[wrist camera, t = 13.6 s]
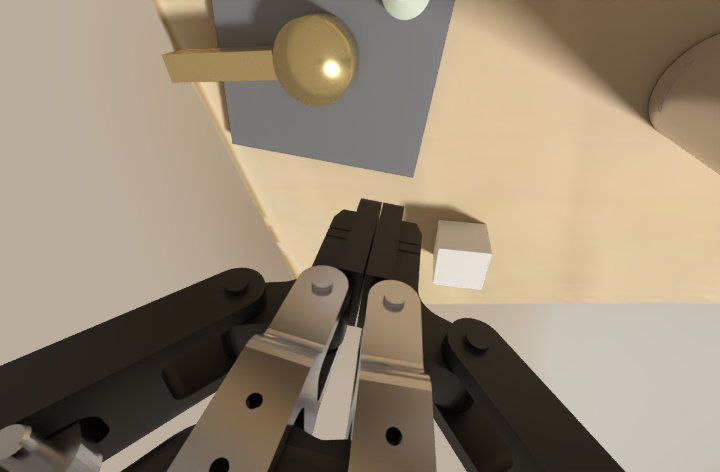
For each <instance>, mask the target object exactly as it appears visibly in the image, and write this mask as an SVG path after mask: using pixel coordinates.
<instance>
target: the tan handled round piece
mask: <svg viewBox="0 0 720 472" xmlns="http://www.w3.org/2000/svg"><path fill="white" fill-rule="evenodd" d="M162 57H163V59H164V62H165V65H166V67H167V70H168V72H169V75H170V78H171V81H172V82H173V83H174V82H220V81H265V80H279V82H280V84H281V85H282V87H283V88H284V90H285V91H286V92H287V93H288V94H289V95H290V96H291V97H292V98H294V99H295V100H297V101H298V102H300V103H302V104H305V105H308V106H315V107H318V106H325V105H328V104H330V103H332V102H334V101H335V100H337V99H338V98H339V97H340V96H341V95H342V93H343V92H344V91H345V90H346V89H347V88H348V86H349V85H350V84H351V83H352V81H353V80H354V78H355V76H356V74H357V71H358V67H359V49H358V44H357V42H356V39H355V37H354V35H353V33H352V31H351V30H350V28H349V27H348V26H347V25H346V24H345V23H344V22H343V21H342V20H340V19H339V18H337V17H335V16H334V15H331V14H327V13H314V14H310V15H306V16H303V17H299V18H296V19H293V20H291V21H290V22H288V23H287V24H286V25H285V26H284V27H283V28H282V29H281V30H280V32H279V33H278V35H277V37H276V40H275V42H274V46H252V47H229V48H206V49H183V50H178V51H174V52H171V53H167V54H163V55H162Z"/></svg>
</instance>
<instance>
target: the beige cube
mask: <svg viewBox="0 0 720 472" xmlns="http://www.w3.org/2000/svg"><path fill="white" fill-rule="evenodd" d="M491 256H492V251H491V246H490V241H489V236H488V230H487V225H486V224H479V223H468V222H457V221H446V220H439V222H438V228H437V235H436V241H435V247H434V253H433V284H437V285H445V286H453V287H462V288H470V289H478V290H481V289H482V285H483V282H484V279H485V276H486V272H487V269H488V266H489V262H490V259H491Z"/></svg>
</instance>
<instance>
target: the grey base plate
mask: <svg viewBox="0 0 720 472" xmlns="http://www.w3.org/2000/svg"><path fill="white" fill-rule="evenodd" d="M454 2H455V0H212V6H213V13H214V20H215V27H216V34H217V41H218V47H219V48H229V47H252V46H274V42H275V40H276V37H277V35H278V33H279V32H280V30H281V29H282V28H283V27H284V26H285V25H286V24H287V23H288V22H290V21H291V20H293V19H296V18H299V17H303V16H306V15H310V14H314V13H327V14H331V15H334V16H335V17H337V18H339V19H340V20H342V21H343V22H344V23H345V24H346V25H347V26H348V27H349V28H350V30H351V31H352V33H353V35H354V37H355V39H356V42H357V44H358V49H359V67H358V71H357V74H356V76H355V78H354V80H353V81H352V83H351V84H350V85H349V86H348V88H347V89H346V90H345V91H344V92H343V93H342V95H341V96H340V97H339V98H338V99H337V100H335V101H334V102H332V103H330V104H328V105H325V106H318V107H315V106H308V105H305V104H302V103H300V102H298V101H297V100H295V99H294V98H292V97H291V96H290V95H289V94H288V93H287V92H286V91H285V90H284V88H283V87H282V85H281V84H280V82H279V80H265V81H223V82H224V89H225V95H226V102H227V109H228V116H229V123H230V130H231V136H232V143H233V144H237V145H242V146H247V147H253V148H258V149H263V150H269V151H274V152H279V153H285V154H290V155H295V156H300V157H306V158H311V159H316V160H322V161H327V162H332V163H338V164H343V165H348V166H354V167H359V168H364V169H370V170H375V171H380V172H385V173H391V174H396V175H401V176H407V177H412V178H413V176H414V171H415V167H416V163H417V159H418V154H419V150H420V146H421V142H422V138H423V133H424V129H425V125H426V121H427V116H428V112H429V108H430V104H431V99H432V95H433V91H434V87H435V83H436V78H437V74H438V70H439V66H440V61H441V57H442V53H443V49H444V45H445V40H446V36H447V32H448V28H449V23H450V19H451V15H452V11H453V7H454Z"/></svg>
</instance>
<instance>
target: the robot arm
mask: <svg viewBox="0 0 720 472" xmlns="http://www.w3.org/2000/svg"><path fill="white" fill-rule="evenodd" d="M649 117H650V121H651V123H652V125H653V126H654V128H655V129H656V130H657V131H659V132H660V133H661V134H662V135H664V136H665V137H667V138H668V139H670V140H671V141H673V142H674V143H675V144H677V145H678V146H680V147H681V148H682V149H684V150H685V151H687V152H688V153H689V154H691V155H692V156H694V157H695V158H697V159H698V160H700V161H701V162H702V163H704V164H705V165H707V166H708V167H710V168H711V169H712V170H714V171H715V172H717V173H718V174H720V34H718V35H716V36H713V37H711V38H708V39H706V40H704V41H703V42H701V43H699V44H697V45H696V46H694V47H692V48H691V49H689V50H688V51H687V52H685V53H684V54H683V55H682V56H680V57H679V58H678V59H677V60H676V61H675V62H674V63H673V64H672V65H671V66H670V67H669V68H668V69H667V70H666V71H665V72H664V74H663V75H662V76H661V78H660V79H659V80H658V82H657V84H656V86H655V88H654V90H653V92H652V95H651V98H650V101H649ZM381 205H382V202H378V201H373V200H368V199H363V198H361V200H360V203H359V206H358V209H357V211H356V212H354V211H349V210H342V211H341V212H340V213H338V214H337V215H336V216H334V218H333V220H332V223H331V225H330V228H329V229H328V232H327V234H326V236H325V238H324V241H323V243H322V245H321V247H320V250H319V252H318V254H317V256H316V259H315V261H314V263H313V265H312V267H310V268H308V269H306V270H305V271H303V272H302V273H301V274H300V275H299V277H298V278H297V279H295V280H292V281H286V282H269V283H265V281H264V278H263V277H262V275H261V274H260V273H258V272H257V271H255V270H253V269H249V268H234V269H230V270H227V271H224V272H222V273H220V274H217V275H215V276H212V277H210V278H208V279H205V280H203V281H200V282H198V283H196V284H193V285H191V286H189V287H186V288H184V289H182V290H179V291H177V292H174V293H172V294H170V295H167V296H165V297H163V298H160V299H158V300H155V301H153V302H151V303H148V304H146V305H144V306H142V307H139V308H136V309H134V310H132V311H129V312H127V313H125V314H122V315H120V316H117V317H115V318H113V319H111V320H108V321H106V322H103V323H101V324H99V325H96V326H94V327H92V328H89V329H87V330H84V331H82V332H80V333H77V334H75V335H72V336H70V337H68V338H65V339H63V340H61V341H58V342H56V343H53V344H51V345H49V346H46V347H44V348H42V349H39V350H37V351H34V352H32V353H30V354H28V355H25V356H23V357H20V358H18V359H16V360H13V361H11V362H8V363H6V364H4V365H1V366H0V472H99V470H100V468H101V464H102V462H104V461H105V460H107V459H108V458H110V457H111V456H113V455H115V454H117V453H118V452H120V451H121V450H123V449H125V448H126V447H128V446H129V445H131V444H132V443H134V442H136V441H137V440H139V439H141V438H142V437H144V436H145V435H147V434H149V433H150V432H152V431H153V430H155V429H157V428H158V427H160V426H162V425H163V424H165V423H166V422H168V421H170V420H171V419H173V418H174V417H176V416H177V415H179V414H181V413H182V412H184V411H186V410H187V409H189V408H190V407H192V406H194V405H195V404H197V403H199V402H200V401H202V400H203V399H205V398H207V397H208V396H210V395H211V394H213V393H215V392H216V391H217V392H216V394H215V395H214V397H213V398H212V400H211V401H210V403H209V405H208V406H207V408H206V409H205V411H204V413H203V415H202V416H201V418H200V419H199V421H198V422H197V424H195V425H193V426H190V427H188V428H186V429H184V430H183V431H181V432H179V433H177V434H175V435H173V436H172V437H170V438H169V439H167V440H166V441H164V442H163V443H162V444H160V445H159V446H157V447H156V448H154V449H153V450H151V451H150V452H149V453H147V454H146V455H144V456H143V457H141V458H140V459H138V460H137V461H135V462H134V463H133V464H131V465H130V466H128V467H127V468H125V469H124V470H122V471H121V472H436V456H435V437H434V421H433V418H434V420H435V421H436V423H437V424H438V426H439V428H440V429H441V431H442V432H443V434H444V435H445V437H446V439H447V441H448V442H449V444H450V445H451V447H452V449H453V450H454V452H455V453H456V455H457V457H458V458H459V460H460V461H461V463H462V464H463V466H464V468H465V469H466V471H467V472H625V471H624V470H623V469H622V468H621V467H620V466H619V465H618V463H617V462H616V461H615V460H614V459H613V458H612V457H611V456H610V455H609V453H608V452H607V451H606V450H605V449H604V448H603V447H602V446H601V445H600V444H599V443H598V441H597V440H596V439H595V438H594V437H593V436H592V435H591V434H590V433H589V432H588V431H587V430H586V428H585V427H584V426H583V425H582V424H581V423H580V422H579V421H578V420H577V419H576V418H575V417H574V415H573V414H572V413H571V412H570V411H569V410H568V409H567V408H566V407H565V406H564V405H563V404H562V402H561V401H560V400H559V399H558V398H557V397H556V396H555V395H554V394H553V393H552V392H551V390H549V388H548V387H547V386H546V385H545V384H544V383H543V382H542V381H541V379H540V378H539V377H538V376H537V375H536V374H535V373H534V372H533V371H532V370H531V369H530V368H529V367H528V365H527V364H526V363H525V362H524V361H523V360H522V359H521V358H520V357H519V356H518V354H517V353H516V352H515V351H514V350H513V349H512V348H511V347H510V346H509V345H508V344H507V343H506V342H505V341H504V339H503V338H502V337H501V336H500V335H499V334H498V333H497V332H496V331H495V330H494V329H493V328H491V326H489V325H487V324H486V323H484V322H482V321H479V320H476V319H472V318H462V319H458V320H456V321H454V322H453V323H451V322H449V321H447V320H445V319H443V318H441V317H439V316H437V315H435V314H434V313H432V312H431V311H430V310H429V309H428V308H427V307H426V306H425V305H424V304H423V302H422V301H421V299H420V297H419V293H418V282H419V267H420V253H421V238H422V234H421V232H420V230H419V228H418V226H417V224H415V223H410V222H405V221H402V217H403V210H404V206H399V205H394V204H388V203H383V206H382V210H381ZM380 211H381V214H380ZM379 216H380V218H379ZM360 302H361V304H360ZM359 306H360V310H359ZM358 310H359V317H358V323H357V327H360V328H362V331H361V337H360V343H359V348H358V353H357V361H356V368H355V376H354V384H353V390H352V398H351V405H350V413H349V420H348V426H347V432H346V439H344V440H320V439H318V438H315V437H314V436H312V433H313V429H314V426H315V422H316V417H317V414H318V410H319V407H320V404H321V401H322V398H323V395H324V392H325V390H326V387H327V384H328V381H329V379H330V376H331V373H332V370H333V367H334V365H335V362H336V359H337V356H338V354H339V351H340V347H341V343H342V342H343V339H344V336H345V332H346V328H347V325H350V326H355V322H356V318H357V314H358Z"/></svg>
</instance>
